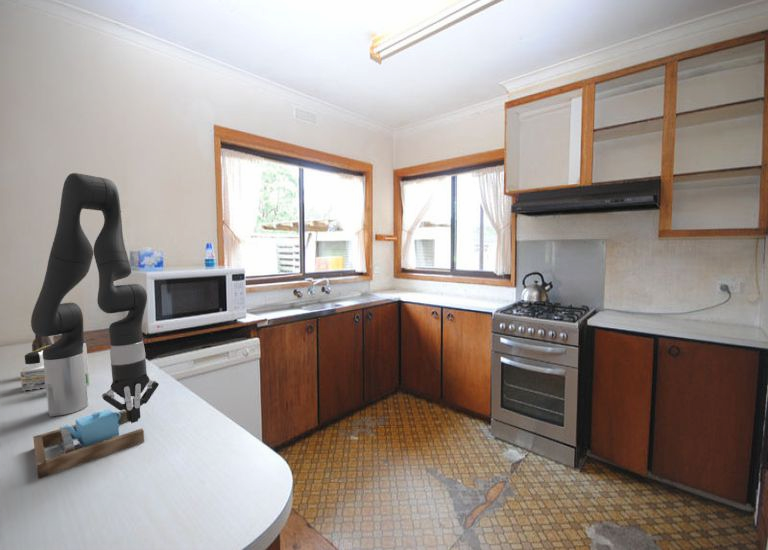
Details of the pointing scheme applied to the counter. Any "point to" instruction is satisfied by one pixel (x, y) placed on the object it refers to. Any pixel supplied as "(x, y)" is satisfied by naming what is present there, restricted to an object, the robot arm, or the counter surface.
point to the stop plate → (66, 440)
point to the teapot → (95, 427)
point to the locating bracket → (81, 454)
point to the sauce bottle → (40, 343)
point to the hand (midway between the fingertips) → (134, 421)
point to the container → (33, 371)
